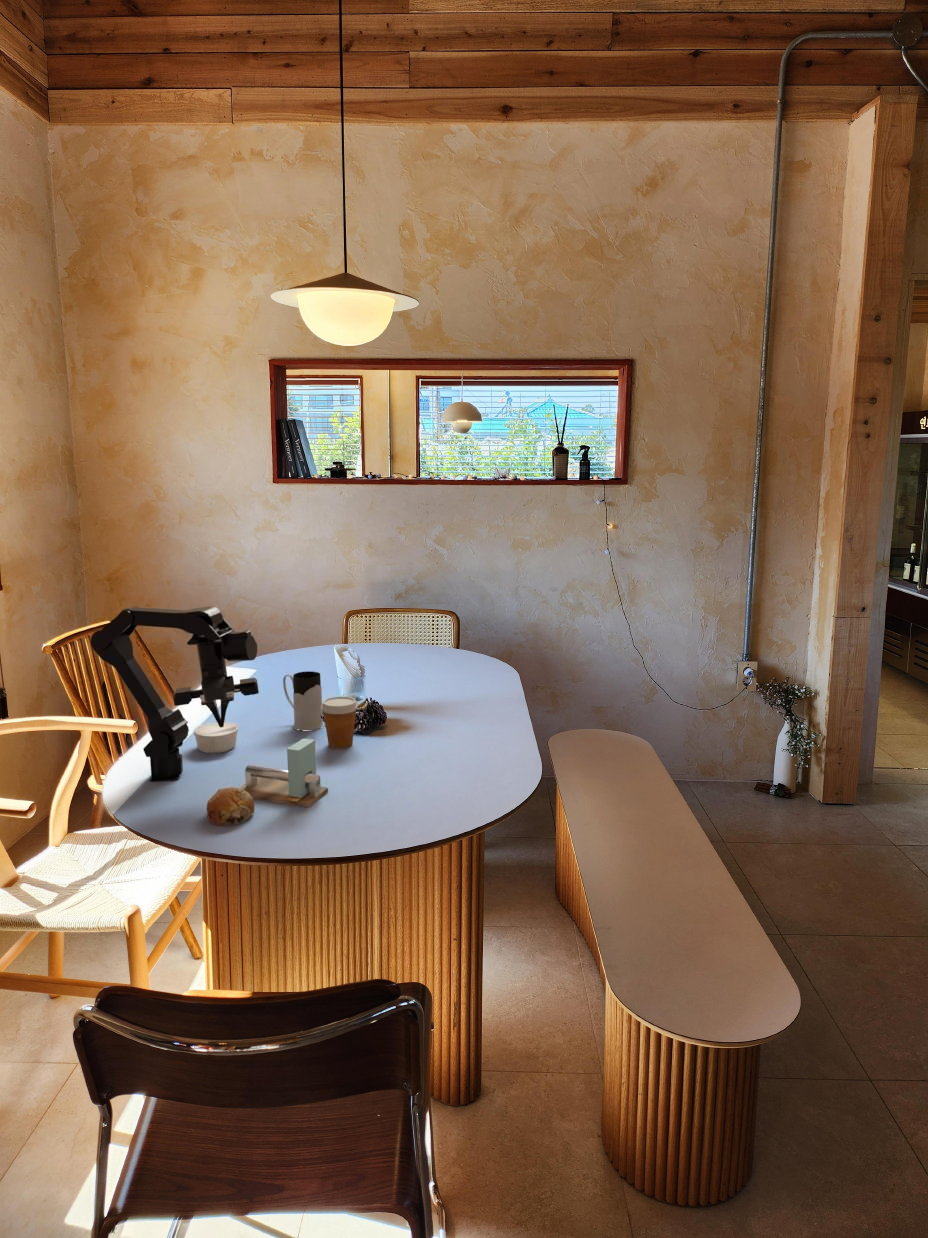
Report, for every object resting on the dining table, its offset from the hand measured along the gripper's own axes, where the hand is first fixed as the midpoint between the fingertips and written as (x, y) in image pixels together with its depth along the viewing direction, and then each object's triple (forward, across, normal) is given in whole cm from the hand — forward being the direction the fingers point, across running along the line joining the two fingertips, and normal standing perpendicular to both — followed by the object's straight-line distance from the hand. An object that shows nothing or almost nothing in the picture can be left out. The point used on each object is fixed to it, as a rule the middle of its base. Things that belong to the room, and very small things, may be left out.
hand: (221, 726), depth 194 cm
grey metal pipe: (+14, +12, -11) cm, 21 cm away
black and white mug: (+14, +20, +37) cm, 44 cm away
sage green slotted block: (+14, +16, -14) cm, 25 cm away
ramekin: (+12, -3, +24) cm, 27 cm away
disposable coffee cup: (+15, +28, +18) cm, 37 cm away
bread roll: (+14, 0, -20) cm, 25 cm away
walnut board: (+15, +11, -11) cm, 21 cm away
